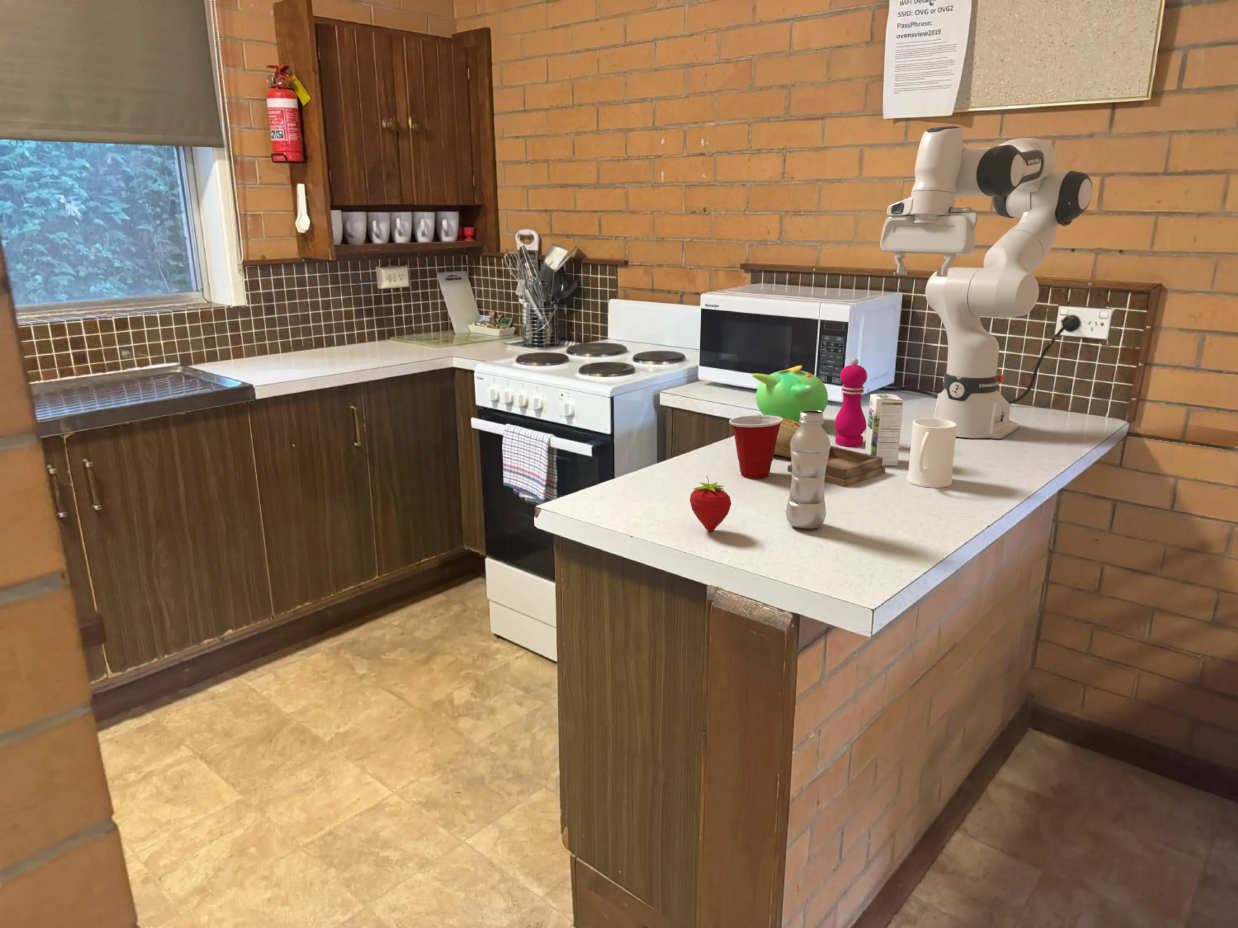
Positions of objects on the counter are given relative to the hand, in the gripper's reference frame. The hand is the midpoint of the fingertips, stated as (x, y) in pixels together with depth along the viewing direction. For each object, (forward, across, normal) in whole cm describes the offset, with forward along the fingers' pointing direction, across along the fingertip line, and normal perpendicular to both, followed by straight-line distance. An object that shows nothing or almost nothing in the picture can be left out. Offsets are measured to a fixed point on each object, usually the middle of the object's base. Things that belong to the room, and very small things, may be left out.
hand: (921, 275), depth 176 cm
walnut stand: (+41, 0, +21) cm, 46 cm away
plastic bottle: (+45, -16, +50) cm, 69 cm away
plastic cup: (+43, +10, +35) cm, 56 cm away
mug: (+40, -16, +14) cm, 46 cm away
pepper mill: (+39, +12, 0) cm, 41 cm away
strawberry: (+46, -7, +64) cm, 80 cm away
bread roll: (+41, +17, +19) cm, 48 cm away
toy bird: (+39, +33, -5) cm, 51 cm away
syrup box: (+40, -2, +8) cm, 41 cm away
